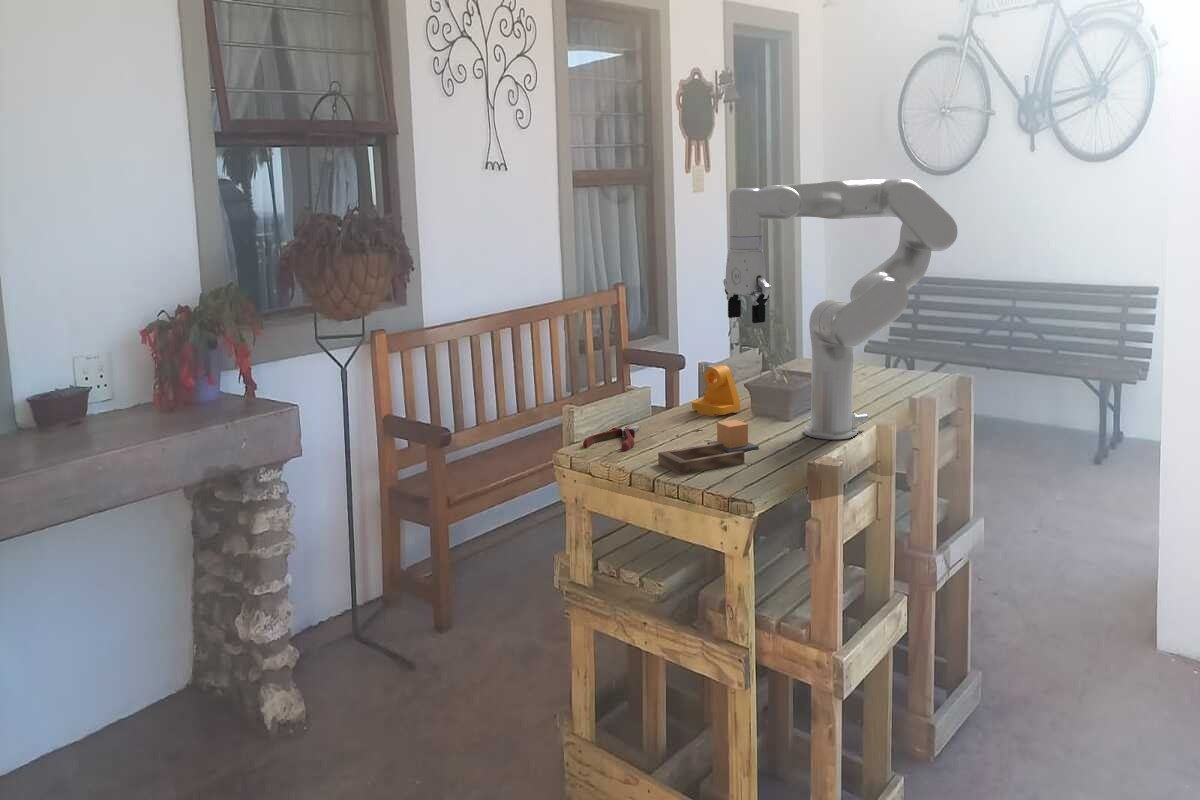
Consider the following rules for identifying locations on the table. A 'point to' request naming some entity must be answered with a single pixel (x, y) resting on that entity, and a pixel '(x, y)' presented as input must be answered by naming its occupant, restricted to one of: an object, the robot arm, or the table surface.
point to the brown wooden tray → (699, 458)
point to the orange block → (732, 433)
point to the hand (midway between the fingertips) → (746, 319)
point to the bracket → (718, 393)
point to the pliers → (615, 433)
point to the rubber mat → (742, 448)
